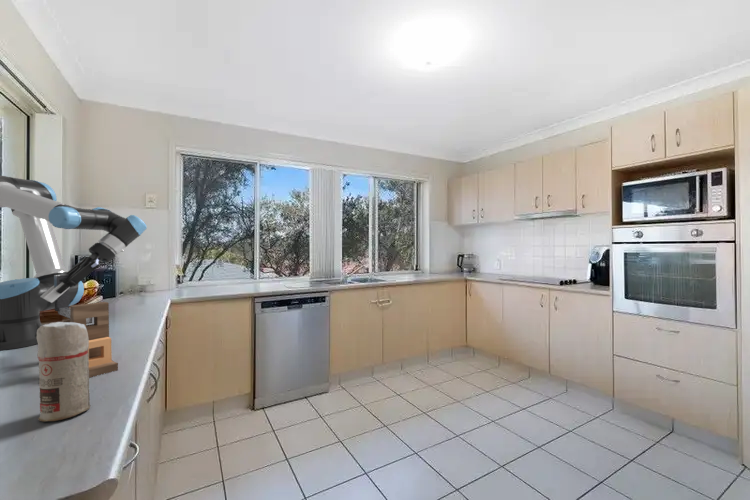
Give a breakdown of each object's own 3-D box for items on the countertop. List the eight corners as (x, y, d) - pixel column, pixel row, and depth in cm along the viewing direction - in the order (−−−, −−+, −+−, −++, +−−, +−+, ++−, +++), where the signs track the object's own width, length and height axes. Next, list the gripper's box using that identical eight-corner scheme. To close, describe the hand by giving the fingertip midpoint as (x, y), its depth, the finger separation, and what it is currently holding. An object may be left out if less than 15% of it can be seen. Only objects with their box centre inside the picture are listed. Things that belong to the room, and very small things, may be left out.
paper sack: (31, 417, 70) (29, 323, 70) (79, 401, 78) (78, 316, 77) (48, 428, 66) (46, 328, 66) (97, 409, 74) (96, 319, 73)
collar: (77, 367, 93) (77, 342, 93) (108, 360, 99) (108, 336, 99) (80, 369, 92) (80, 344, 92) (111, 361, 98) (111, 338, 98)
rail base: (51, 357, 107) (50, 298, 106) (83, 351, 113) (82, 295, 113) (82, 379, 90) (81, 309, 90) (117, 370, 97) (116, 305, 96)
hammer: (54, 313, 113) (54, 275, 113) (66, 311, 115) (65, 274, 115) (81, 324, 97) (80, 280, 97) (94, 322, 100) (93, 279, 100)
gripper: (124, 256, 121) (64, 309, 108) (107, 255, 130) (50, 304, 117) (106, 241, 117) (41, 294, 103) (90, 241, 126) (28, 290, 112)
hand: (46, 299), depth 110 cm, fingers closed on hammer, 3 cm apart
